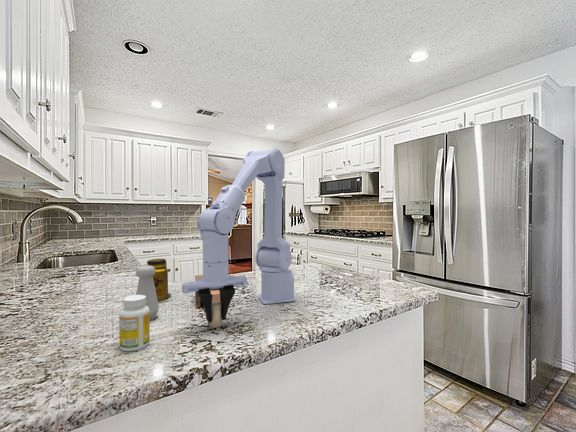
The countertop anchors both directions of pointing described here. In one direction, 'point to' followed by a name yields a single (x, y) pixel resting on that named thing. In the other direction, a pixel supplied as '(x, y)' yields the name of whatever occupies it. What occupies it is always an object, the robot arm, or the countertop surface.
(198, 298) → the panel
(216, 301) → the cord block
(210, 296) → the robot arm
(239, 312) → the countertop surface
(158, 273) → the condiment
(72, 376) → the countertop surface
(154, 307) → the salt shaker
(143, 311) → the supplement bottle
